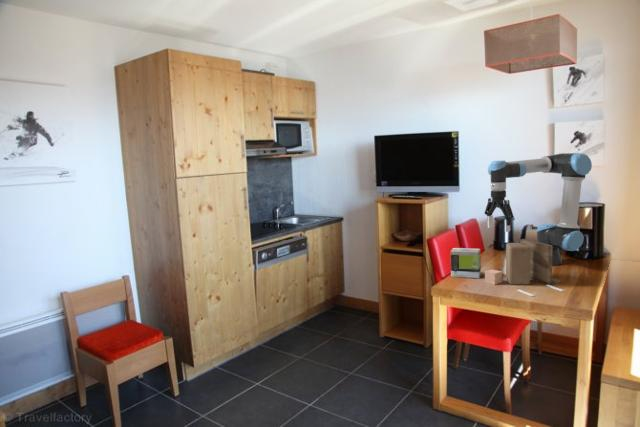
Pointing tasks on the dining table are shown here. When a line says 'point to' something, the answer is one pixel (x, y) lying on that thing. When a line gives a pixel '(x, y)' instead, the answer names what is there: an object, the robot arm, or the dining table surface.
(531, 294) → the strip
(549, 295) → the dining table surface
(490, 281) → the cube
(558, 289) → the strip
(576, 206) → the robot arm
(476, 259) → the tea box
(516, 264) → the wooden block
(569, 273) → the dining table surface
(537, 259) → the brown angled piece
